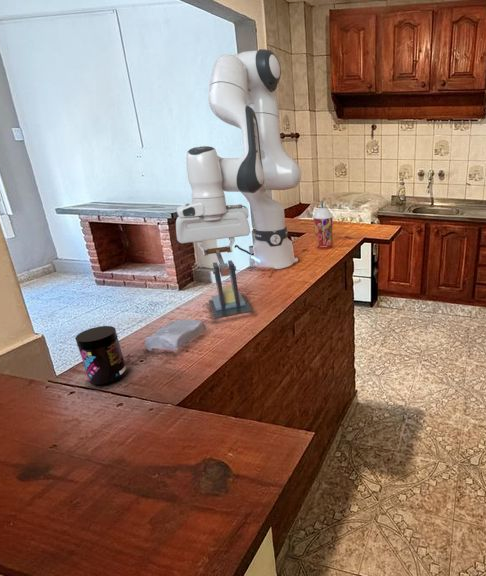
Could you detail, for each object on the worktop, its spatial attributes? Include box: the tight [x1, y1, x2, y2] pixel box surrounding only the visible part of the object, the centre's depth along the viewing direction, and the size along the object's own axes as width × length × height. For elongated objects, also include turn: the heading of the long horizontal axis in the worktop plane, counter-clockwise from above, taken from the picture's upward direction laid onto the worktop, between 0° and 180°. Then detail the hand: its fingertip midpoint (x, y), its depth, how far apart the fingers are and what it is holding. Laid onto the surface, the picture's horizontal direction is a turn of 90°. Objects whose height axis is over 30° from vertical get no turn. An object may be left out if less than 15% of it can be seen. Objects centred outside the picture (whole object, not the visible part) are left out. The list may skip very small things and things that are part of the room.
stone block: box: [144, 318, 206, 352], centre depth 96 cm, size 12×5×10 cm
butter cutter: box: [208, 259, 254, 320], centre depth 111 cm, size 14×10×14 cm
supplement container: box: [75, 325, 128, 388], centre depth 80 cm, size 7×7×10 cm
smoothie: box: [312, 200, 334, 250], centre depth 172 cm, size 8×8×20 cm
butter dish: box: [211, 284, 246, 311], centre depth 115 cm, size 10×8×4 cm
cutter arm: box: [207, 246, 230, 278], centre depth 113 cm, size 14×6×2 cm, turn 27°
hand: (217, 253), depth 118 cm, fingers closed on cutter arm, 5 cm apart
